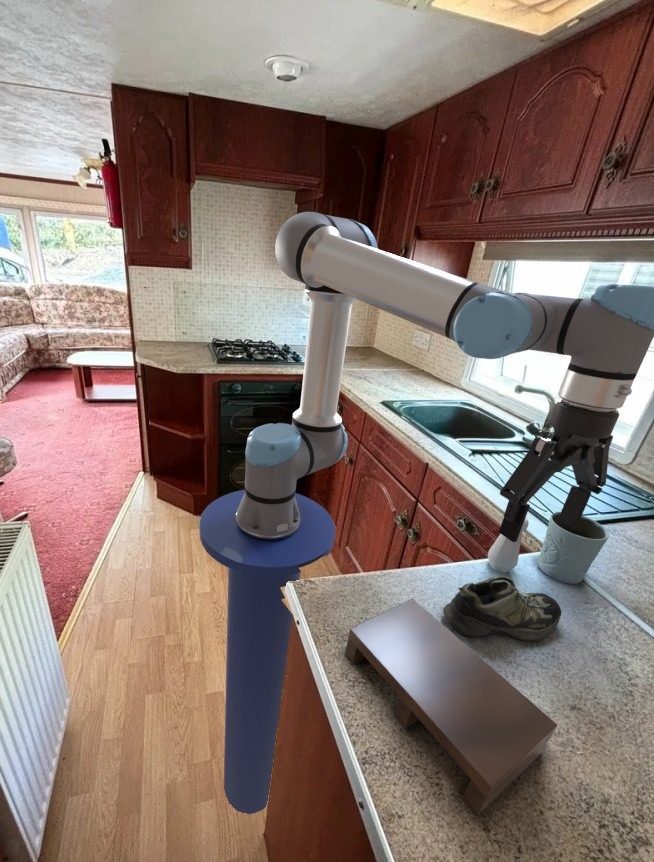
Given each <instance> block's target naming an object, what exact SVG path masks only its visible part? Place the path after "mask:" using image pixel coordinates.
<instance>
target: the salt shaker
mask: <svg viewBox="0 0 654 862" xmlns="http://www.w3.org/2000/svg"><path fill="white" fill-rule="evenodd" d="M528 527H529V519H528V518H527V517H526V518H525V520H524V523H523V526H522V529H521V531H520V534H519V537H518V539H517V542H512V541H510V540H509V539H508V538H506V537H505V536H503V535H502V534H500V533H499V535H498V537H497V538H496V540H495V541H494V543H492V545H491V546H490V548H489V550H488V552H487V559H488V560H487V561H488V565H490V567H491V568H492V569H493V570H495V571H497V572H500V573H503V574H505V573H510V572H511V571H512V570H513V569H515V568H516V567H517V566H518V562H519V556H520V550H521V543H522V537H523V532H524V531H526V530H527V529H528Z"/></svg>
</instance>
